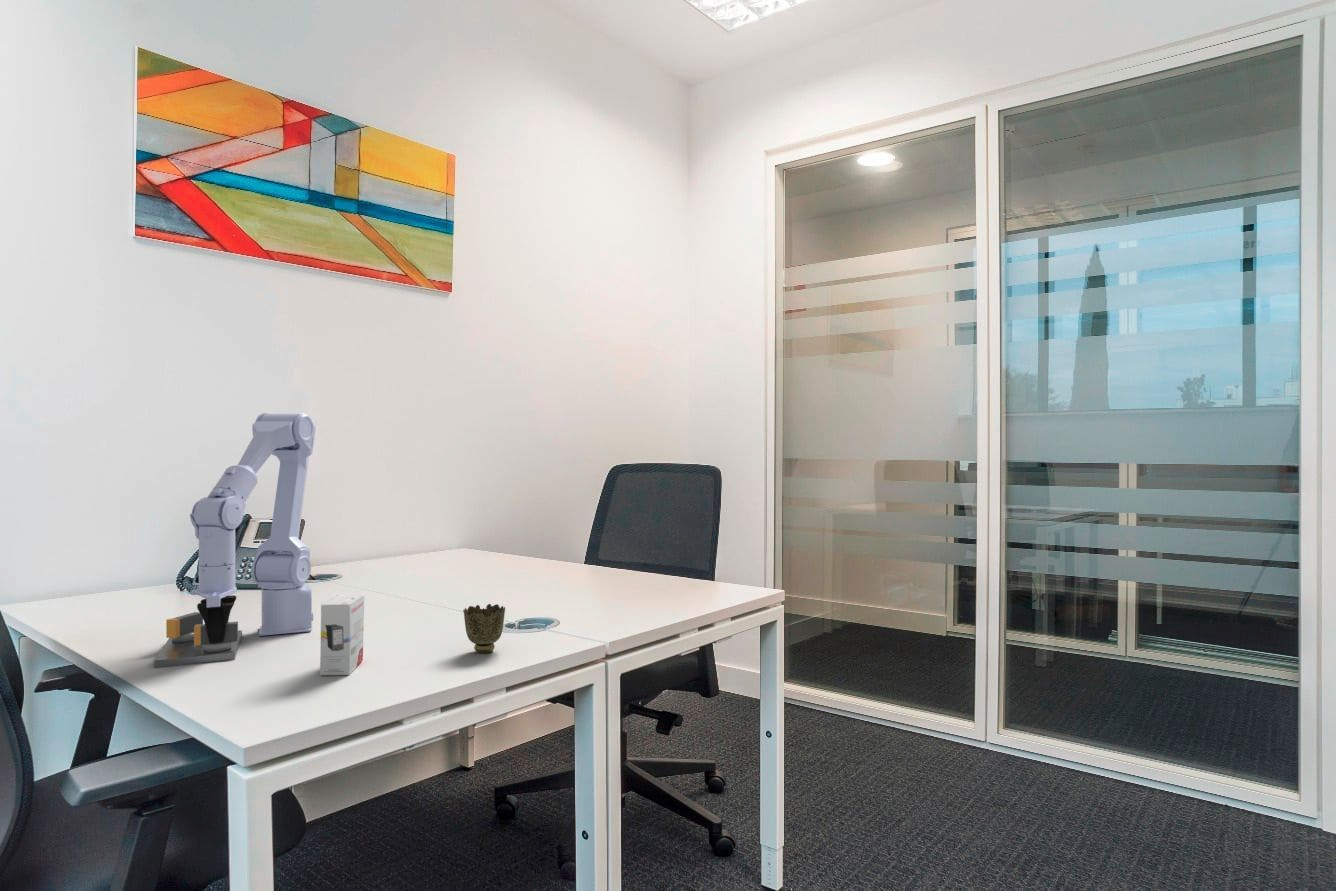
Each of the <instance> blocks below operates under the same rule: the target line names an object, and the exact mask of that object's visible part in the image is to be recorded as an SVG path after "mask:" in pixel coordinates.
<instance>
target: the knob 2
mask: <svg viewBox="0 0 1336 891" xmlns="http://www.w3.org/2000/svg"><path fill="white" fill-rule="evenodd" d="M238 631H239V621H228V622H227V626H226V632H225V637H224V640H223V642H219V643H210V642H209V639H208V636H207V631H206V626H205V623H203V624H198V625H195V626H194V646H196V645H203V651H205V652H218V651H224V650H228V649H230V648H231V642H236V641H238Z"/></svg>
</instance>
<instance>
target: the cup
mask: <svg viewBox="0 0 1336 891" xmlns="http://www.w3.org/2000/svg"><path fill="white" fill-rule="evenodd" d="M462 612H463V617H464V618H463V620H464V625H465V626H464V627H465V632H466V635H467V638H468V640H469V641H470V642H471V643H472V644H473V645H474V646H473V649H474V651H475V653H478V654H489V653H492V652H493V651H494V650H495V647H496V646H495V643H496V642H498V641H499V639H500V638H501V637H502V634H503V630H504V621H505V612H506V607H505V606H504V605H502V606H500V605H499V604H498V603H497V604H494V605H492V604H490V603H488V604H486V607H485V608H484V607H483V608H481V606H480V605H478V604H477V605H475V606H472V605H469V606H468V607H467V608H466V607H464V609H463V610H462Z"/></svg>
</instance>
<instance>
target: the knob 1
mask: <svg viewBox="0 0 1336 891" xmlns="http://www.w3.org/2000/svg"><path fill="white" fill-rule="evenodd" d="M165 624H166V626H165V627H166V630H165V631H166V633H165V634H166V635H165V636H166V638H167V639H169V638H172V642H190V641H194V626H195V625H198V624H204V620H203V617H202V615H201V614H200V612H199V611H197V612H196V611H195V612H190V613H186V614H183V615H180V616H177V617H176V616H175V617H172V618H167V619H166V623H165Z"/></svg>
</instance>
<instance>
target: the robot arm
mask: <svg viewBox="0 0 1336 891" xmlns="http://www.w3.org/2000/svg"><path fill="white" fill-rule="evenodd" d="M251 429H252V430H251V431H252V438H251V441H250V442H249V444H248V446H247V448H246V449H245V450H244V453H243V454H242V457H241V458H240V459H239V462H238V464H237V465H236V464H235V465H230V466H228V467H226V468H225V471H224V472H223V474H222V475H221V477H220V478H219V480H218V481H217V482H216V484H215V486H213V488H212V490H211V491H210V493H208V495H207V496H205V497H203V498H200V499H199V500H197V501H196V502H195V504H194V505H193V506H192V510H191V513H190V514H189V517H190V523H191V524H192V526H193V528H194V533H195V534H194V536H195V539H197V540H198V588H196V589H195V588H194V589H191V590H190V595H191V596H199V597H201V598H203V599H201V600H200V602H199V603H198V604H197V606H196V608H197V610H198V611H197V612H200V614H201V615H202V617H203V624H205V626H206V631H207V636H208V639H209V642H210V643H219V642H223V640H224V637H225V632H226V626H227V622H229V619H230V616H231V611H232V609H233V608H234V606H235V602H236V600H237V595H234V594H235V593H237V591H238V588H237V586H236V529H237V528H238V527H239V526H240V524H241V523H242V522H243V519H244V514H245V513H244V511H245V508H246V501H247V500H248V499H249V497H250V495H251V493H252V491H254V489H255V487H256V486H257V484H258V483H259V482H258V481H259V480H258V477H257V475H256V474H257V473H258V472H259V470H260V469H261V468H262V466H264V464H265V463H266V461H267V460H268V459H269V458H270V457H271V455H272V456H274V457H276V458H277V459H278V460H279V470H278V477H277V483H276V484H277V486H276V492H275V499H274V504H273V506H274V507H273V514H272V523H271V529H270V535H269V536H270V537H268V539H266V540H265V541H264V542H262V543H261V544H260V545H258V546H257V548H256V549H257V550H256V554H255V556H254V559H253V561H252V563H251V564H252V565H251V567H250V573H251V577H252V579H253V581H254V582H255V583H256V584H257V588H258V589H261V625H260V626H259V630H258V636H260V637H261V636H263V637H264V636H273V635H282V634H283V635H286V634H294V633H295V634H297V633H304V632H305V633H306V632H311V631H313V630H312V626H313V625H312V624H313V623H312V622H314V611H312V600H313V599H312V585H311V584H310V585H309V584H306V585H305V583H306V582H307V581H308V580H309V578H310V575H311V571H312V564H311V557H310V556H311V549H310V548H309V546H308V545H306V544H305V543H304V542H302V540H300V538H299V537H300V530H301V522H302V513H303V505H304V497H305V489H306V481H307V474H308V466H309V458H310V456H311V455H313V451H314V450H313V449H314V444H315V443H314V442H315V435H316V427H315V424H314V422H313V420H312V418H311V416H310V415H309V414H308V413H306V412H299V413H268V412H262V413H260V414H259V415H258V416H257V417H256V419H255V422H254V423H253V424H252V428H251Z"/></svg>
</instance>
